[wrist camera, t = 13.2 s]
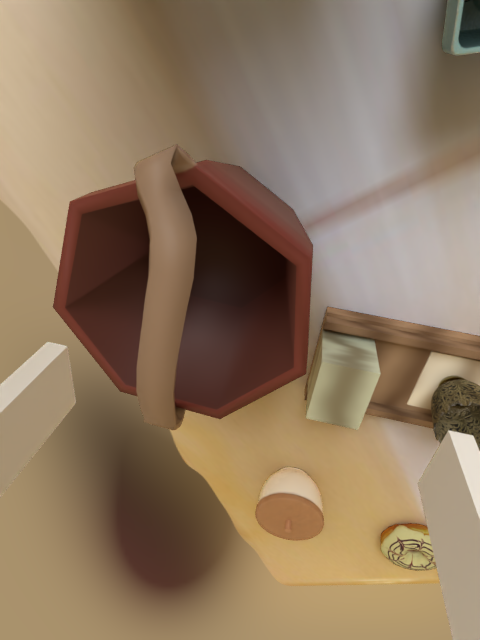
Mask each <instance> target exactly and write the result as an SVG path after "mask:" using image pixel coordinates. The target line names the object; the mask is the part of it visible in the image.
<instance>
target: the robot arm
mask: <svg viewBox="0 0 480 640" xmlns="http://www.w3.org/2000/svg"><path fill="white" fill-rule="evenodd" d="M75 403H76V398H75V392H74V385H73V379H72V373H71V366H70V359H69V353H68V347H67V346H64V345H59V344H55V343H50V342H47V343H46V344H45V345H44V346H43V347H41V348H40V349H39V350H38V351H37V352H36V353H35V354H34V355H33V356H31V357H30V358H29V359H28V360H27V361H26V362H25V363H24V364H23V365H22V366H21V367H19V368H18V369H17V370H16V371H15V372H14V373H13V374H12V375H10V376H9V377H8V378H7V379H6V380H5V381H4V382H3V383H2V384H1V385H0V497H1V496H2V495H3V493H4V492H5V491H6V490H7V488H8V487H9V486H10V485H11V483H12V482H13V481H14V480H15V478H16V477H17V476H18V475H19V473H20V472H21V471H22V470H23V468H24V467H25V466H26V465H27V463H28V462H29V461H30V459H31V458H32V457H33V456H34V455H35V453H36V452H37V451H38V450H39V448H40V447H41V446H42V445H43V443H44V442H45V441H46V440H47V438H48V437H49V436H50V435H51V433H52V432H53V431H54V430H55V428H56V427H57V426H58V425H59V423H60V422H61V421H62V420H63V418H64V417H65V416H66V415H67V413H68V412H69V411H70V410H71V408H72V407H73V406H74V405H75ZM418 487H419V491H420V496H421V500H422V505H423V509H424V514H425V518H426V522H427V527H428V531H429V536H430V540H431V545H432V549H433V554H434V558H435V562H436V567H437V571H438V576H439V580H440V585H441V589H442V594H443V598H444V602H445V607H446V611H447V616H448V620H449V625H450V629H451V634H452V637H453V640H480V451H479V448H478V446H477V443H476V441H475V439H474V436H473V435H468V434H464V433H459V432H454V431H450V430H448V432H447V434H446V435H445V437H444V439H443V440H442V442H441V444H440V446H439V447H438V449H437V451H436V453H435V454H434V456H433V458H432V459H431V461H430V463H429V465H428V466H427V468H426V470H425V472H424V473H423V475H422V477H421V478H420V480H419V482H418Z"/></svg>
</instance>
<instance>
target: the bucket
mask: <svg viewBox="0 0 480 640" xmlns="http://www.w3.org/2000/svg"><path fill="white" fill-rule="evenodd" d="M134 172H135V180H134V181H130V182H126V183H123V184H119V185H116V186H112V187H109V188H105V189H102V190H98V191H95V192H91V193H89V194H86V195H84V196H82V197H80V198H77V199H75V200H73V201H70V204H69V210H68V216H67V223H66V229H65V235H64V241H63V248H62V254H61V260H60V267H59V273H58V279H57V286H56V292H55V298H54V304H53V308H54V309H55V310H56V312H57V313H58V314H59V315H60V316H61V318H62V319H63V320H64V322H65V323H66V324H67V325H68V327H69V328H70V329H71V330H72V332H73V333H74V334H75V335H76V337H77V338H78V339H79V340H80V342H81V343H82V344H83V345H84V346H85V348H86V349H87V350H88V352H89V353H90V354H91V355H92V357H93V358H94V359H95V360H96V362H97V363H98V364H99V365H100V367H101V368H102V369H103V370H104V372H105V373H106V374H107V375H108V377H109V378H110V379H111V380H112V382H113V383H114V384H115V386H116V387H117V388H118V389H119V390H120V391H121V392H124V393H128V394H131V395H135V396H138V400H139V404H140V408H141V411H142V414H143V416H144V422H145V423H149V424H152V425H156V426H160V427H163V428H167V429H171V430H176V429H177V428H178V427H180V425H181V423H182V421H183V418H184V414H185V410H189V411H193V412H196V413H200V414H204V415H207V416H211V417H215V418H218V419H221V418H223V417H225V416H227V415H228V414H230V413H232V412H234V411H236V410H238V409H240V408H242V407H244V406H246V405H248V404H249V403H251V402H253V401H255V400H257V399H259V398H261V397H263V396H265V395H267V394H268V393H270V392H272V391H274V390H276V389H278V388H280V387H282V386H284V385H286V384H287V383H289V382H291V381H293V380H295V379H297V378H299V377H301V376H303V375H305V374H306V369H307V356H308V338H309V317H310V297H311V276H312V256H313V244H312V243H311V241H310V239H309V237H308V236H307V234H306V232H305V230H304V228H303V227H302V225H301V223H300V221H299V219H298V218H297V216H296V214H295V212H294V210H293V209H292V208H291V207H290V206H288V205H287V204H286V203H285V202H283V201H282V200H281V199H280V198H278V197H277V196H276V195H275V194H274V193H272V192H271V191H270V190H269V189H267V188H266V187H265V186H264V185H262V184H261V183H260V182H259V181H258V180H256V179H255V178H254V177H253V176H251V175H250V174H249V173H248V172H246V171H245V170H244V169H243V168H242V167H240V166H235V165H230V164H225V163H220V162H215V161H209V160H204V161H201V162H197V163H196V162H195V161H194V160H193V158H192V157H191V156H190V155H189V154H188V153H187V152H185V151H184V150H183V149H182V148H181V147H180V146H179V145H178V144H176V145H174V146H172V147H170V148H167V149H165V150H163V151H161V152H158V153H156V154H154V155H152V156H150V157H147V158H145V159H143V160H141V161H138V162H137V163H136V165H135V167H134Z"/></svg>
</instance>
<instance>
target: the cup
mask: <svg viewBox="0 0 480 640" xmlns="http://www.w3.org/2000/svg"><path fill="white" fill-rule="evenodd" d="M431 413H432V420H433V427H434V432H435V437H436V439H437V440H439V441H440V443H441V442H442V440H443V439H444V437H445V435H446V434H447V432H448V430H450V431H454V432H459V433H464V434H468V435H473V436H474V439H475V441H476V443H477V446H478V448H479V451H480V386H479V385H478V384H476V383H474V382H471V381H468V380H466V379H464V378H462V377H460V376H455V375H453V376H448V377H445V378H444V379H442V380H441V381H440V383H439V385H438V388H437V389H436V391H435V392H434V394H433V396H432V400H431Z"/></svg>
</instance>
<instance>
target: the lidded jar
mask: <svg viewBox="0 0 480 640" xmlns="http://www.w3.org/2000/svg"><path fill="white" fill-rule="evenodd" d="M255 515H256V519H257V521H258V523H259V524H260V526H261V527H262V528H263V529H265V530H266V531H267V532H269V533H271V534H273V535H274V536H277V537H280V538H283V539H288V540H306V539H310V538H313V537H315V536H316V535H318V534H319V533H320V532H321V531H322V529H323V525H324V518H323V504H322V498H321V494H320V491H319V489H318V487H317V485H316V483H315V482H314V481H313V480H312V479H311V478H310V477H309V475H308V474H307V473H306V472H304V471H303V470H301V469H298V468H295V467H285V468H282V469H280V470H278V471H277V472H275V473H274V474H272V475H271V476H270V477H269V478H268V479H267V480H266V482H265V483H264V485H263V487H262V489H261V492H260V495H259V499H258V504H257V507H256V514H255Z"/></svg>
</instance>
